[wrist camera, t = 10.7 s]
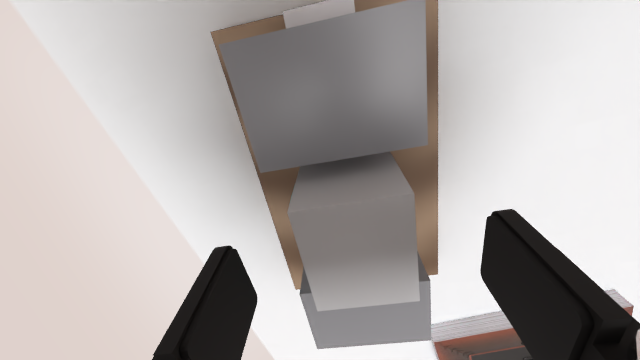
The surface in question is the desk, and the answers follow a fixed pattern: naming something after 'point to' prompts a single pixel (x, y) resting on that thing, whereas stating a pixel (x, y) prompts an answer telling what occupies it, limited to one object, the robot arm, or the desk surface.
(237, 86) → the mounted modules
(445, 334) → the picture frame
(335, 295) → the block
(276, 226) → the rail board
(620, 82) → the desk surface
